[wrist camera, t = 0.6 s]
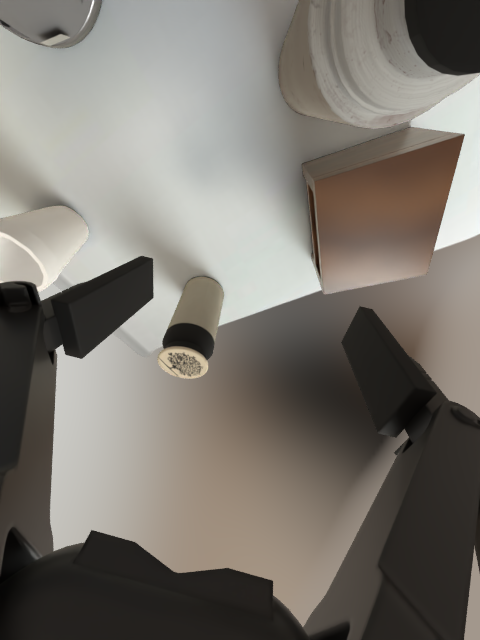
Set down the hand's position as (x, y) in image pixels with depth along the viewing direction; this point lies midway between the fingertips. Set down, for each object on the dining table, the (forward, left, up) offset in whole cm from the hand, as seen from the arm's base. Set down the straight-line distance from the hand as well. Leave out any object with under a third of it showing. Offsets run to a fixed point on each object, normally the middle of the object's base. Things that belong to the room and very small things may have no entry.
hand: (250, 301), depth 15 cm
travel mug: (+15, -15, -26) cm, 34 cm away
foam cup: (-4, -32, -26) cm, 41 cm away
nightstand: (+6, +13, -26) cm, 30 cm away
